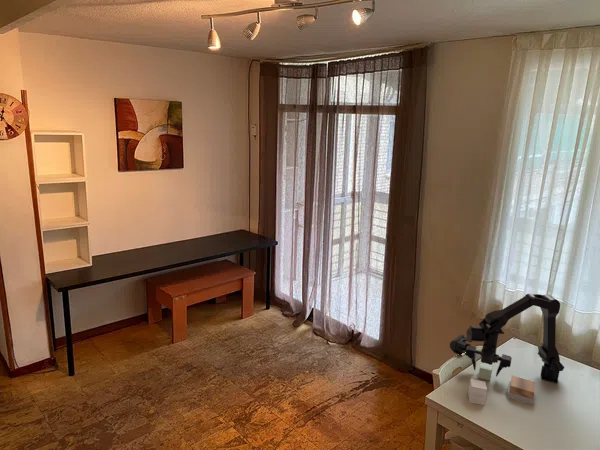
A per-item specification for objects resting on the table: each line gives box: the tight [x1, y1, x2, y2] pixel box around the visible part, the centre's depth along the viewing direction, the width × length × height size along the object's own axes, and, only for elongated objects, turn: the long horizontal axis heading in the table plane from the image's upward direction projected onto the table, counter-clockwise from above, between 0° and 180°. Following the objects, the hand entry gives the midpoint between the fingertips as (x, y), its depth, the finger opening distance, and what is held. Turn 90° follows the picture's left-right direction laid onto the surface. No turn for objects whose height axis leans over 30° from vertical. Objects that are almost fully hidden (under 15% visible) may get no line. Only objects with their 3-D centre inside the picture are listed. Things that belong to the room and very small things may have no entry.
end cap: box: [449, 334, 473, 356], centre depth 226 cm, size 10×7×7 cm
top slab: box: [509, 375, 536, 399], centre depth 190 cm, size 9×9×3 cm
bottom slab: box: [506, 380, 535, 406], centre depth 191 cm, size 10×10×3 cm
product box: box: [467, 378, 488, 406], centre depth 186 cm, size 6×6×7 cm
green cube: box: [477, 362, 494, 382], centre depth 203 cm, size 5×5×5 cm
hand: (485, 372), depth 204 cm, fingers open, 9 cm apart
